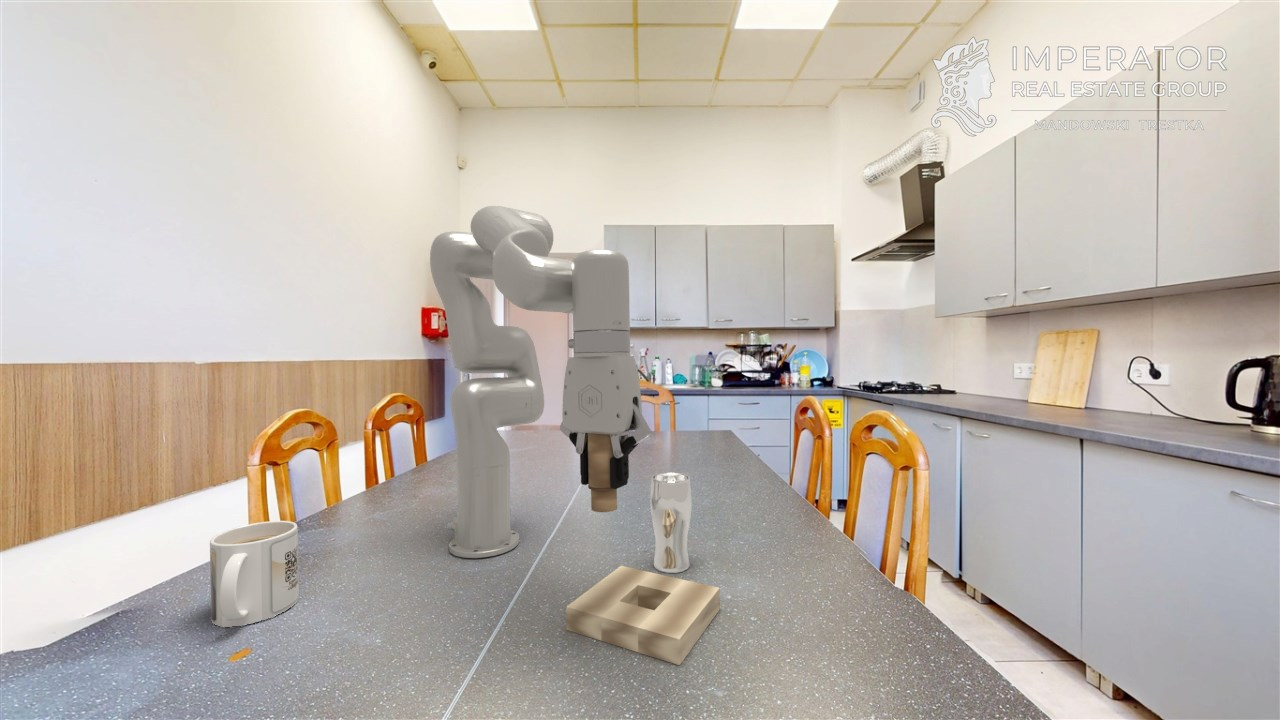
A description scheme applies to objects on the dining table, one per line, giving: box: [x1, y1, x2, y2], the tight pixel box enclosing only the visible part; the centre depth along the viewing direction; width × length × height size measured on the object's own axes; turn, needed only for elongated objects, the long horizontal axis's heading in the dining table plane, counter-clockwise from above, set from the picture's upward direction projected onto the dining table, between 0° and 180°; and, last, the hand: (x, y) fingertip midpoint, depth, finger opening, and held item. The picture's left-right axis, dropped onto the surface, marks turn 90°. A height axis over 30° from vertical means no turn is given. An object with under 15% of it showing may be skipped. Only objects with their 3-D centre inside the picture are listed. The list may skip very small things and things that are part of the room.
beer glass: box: [649, 472, 692, 574], centre depth 83 cm, size 7×7×15 cm
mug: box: [209, 520, 300, 628], centre depth 68 cm, size 10×12×11 cm
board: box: [565, 565, 721, 666], centre depth 66 cm, size 16×14×3 cm
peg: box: [587, 433, 618, 513], centre depth 65 cm, size 4×4×12 cm
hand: (604, 483), depth 65 cm, fingers closed on peg, 4 cm apart
